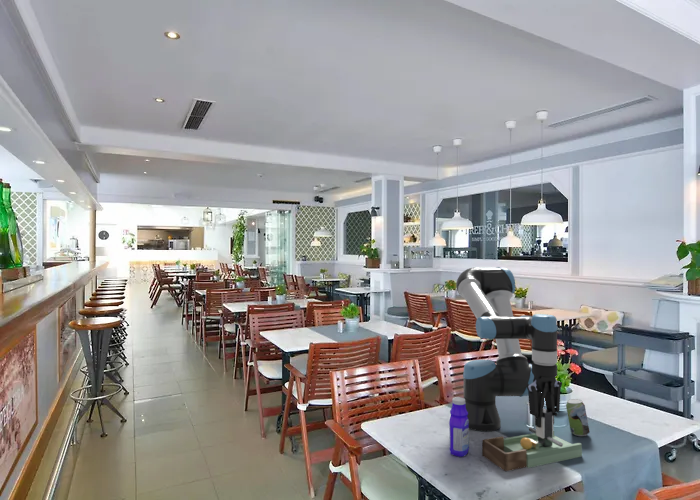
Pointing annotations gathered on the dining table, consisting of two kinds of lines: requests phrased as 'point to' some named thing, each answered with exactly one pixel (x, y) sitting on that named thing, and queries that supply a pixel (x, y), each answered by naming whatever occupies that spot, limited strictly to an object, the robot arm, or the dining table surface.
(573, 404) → the beverage can
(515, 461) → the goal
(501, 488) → the dining table surface
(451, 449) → the bottle
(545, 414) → the kicker
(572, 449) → the pitch
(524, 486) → the dining table surface
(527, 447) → the ball
